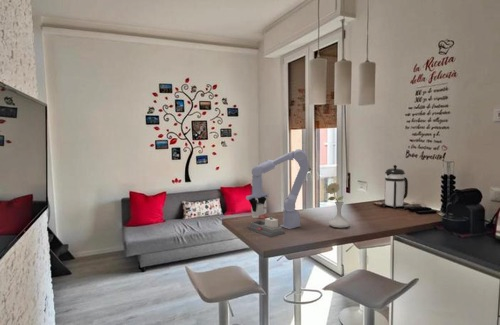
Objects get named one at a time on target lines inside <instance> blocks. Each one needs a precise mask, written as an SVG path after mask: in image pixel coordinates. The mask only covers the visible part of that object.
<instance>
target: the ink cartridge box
mask: <svg viewBox="0 0 500 325" xmlns="http://www.w3.org/2000/svg"><path fill="white" fill-rule="evenodd" d="M256 200H257V202H258V198H256ZM267 208H268V207H267V200H266V201H265V203H264V205H263V213H264V215H259V216H257V215H254V214H252V213H251V218H252V219H253V218H254V219H264V220H265V219H266V218H268V216H267V215H268V213H267V212H268V210H267Z"/></svg>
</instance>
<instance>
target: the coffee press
mask: <svg viewBox="0 0 500 325" xmlns="http://www.w3.org/2000/svg"><path fill="white" fill-rule="evenodd" d="M397 167H398V165H396V164H394V165H393V168H387V169H386V170H385V171H384V174H385V177H384V202H383V204H382V207H384V208H385V206H389V207H393V210H397V209H396V207H402V208H403V207H405V208H406V205H404V202H405V199H406V198H407V197H408V192H409V191H408V190H409V188H408V187H409V181H408V179H407V177H405V176H406V173H405V170H403V169H401V168H397Z"/></svg>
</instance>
